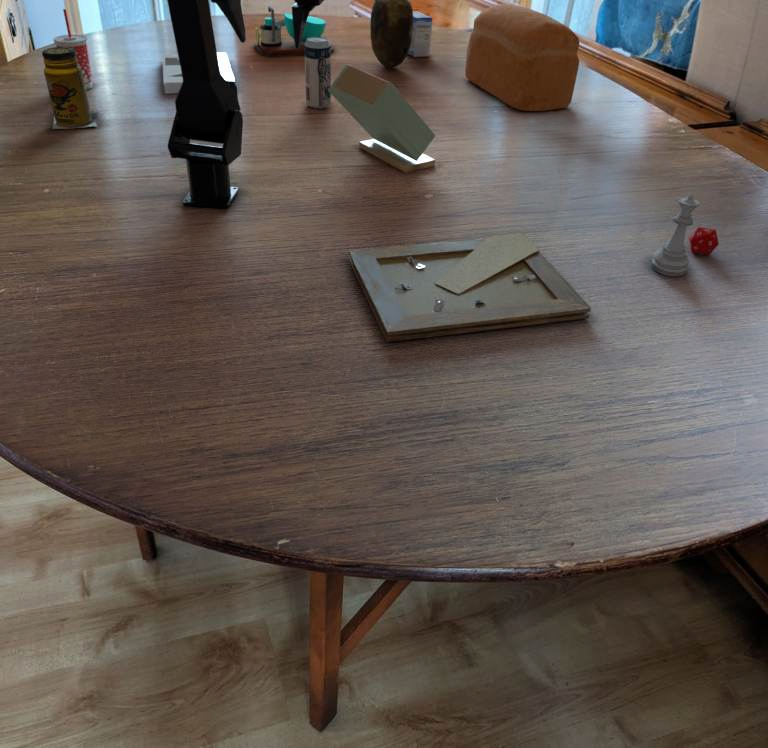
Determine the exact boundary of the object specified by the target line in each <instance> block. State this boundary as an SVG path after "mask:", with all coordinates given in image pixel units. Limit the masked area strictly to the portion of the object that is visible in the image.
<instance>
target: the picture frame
mask: <svg viewBox="0 0 768 748" xmlns="http://www.w3.org/2000/svg"><path fill="white" fill-rule="evenodd" d="M348 262H349V265H350V266H351V268H352V270H353V273H354V275H355V277H356V278H357V281H358V283H359V285H360V287H361V290H362V292H363V294H364V297H365V298H366V301H367V303H368V304H369V307H370V309H371V311H372V313H373V315H374V317H375V320H376V321H377V323H378V325H379V328H380V330H381V332H382V334H383V336H384V338H385V340H386V342H387V343H391V342H400V341H409V340H416V339H424V338H425V339H426V338H434V337H442V336H443V337H444V336H451V335H458V334H459V335H460V334H466V333H474V332H483V331H491V330H501V329H509V328H517V327H524V326H525V327H526V326H533V325H541V324H549V323H550V324H551V323H559V322H567V321H568V322H569V321H577V320H583V319H589V318H590V312H591V311H592V307H591V306H590V305H589V304H588V302H586V301H585V300H584V298H583V297H581V295H580V294H579V293H578V292H577V291H576V290H575V289H574V288H573V287H572V285H571V284H570V283H569V282H568V281H567V280H566V279H565V278H564V277H563V276H562V275H561V273H560V272H559V271H558V270H557V269H556V268H555V267H554V265H552V264H551V262H550V261H548V259H547V258H546V257H545V256H544V255H543V254H542V252H541V251H540V248H539V247H538V246H537V245H536V244H535V242H533V240H532V239H530V237H529V236H528V235H527V234H526V233H525V232H520V233H511V234H510V233H509V234H508V233H507V234H497V235H490V236H489V237H484V238H473V239H460V240H459V239H458V240H448V241H437V242H426V243H416V244H405V245H404V244H403V245H393V246H381V247H369V248H358V249H348Z"/></svg>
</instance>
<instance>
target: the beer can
mask: <svg viewBox="0 0 768 748" xmlns="http://www.w3.org/2000/svg"><path fill="white" fill-rule="evenodd" d="M331 47H332V45H331V42H330V41H329V38H327V37H323V36H321V37H309V38H307V40H306V42H305V55H304V76H305V77H304V78H305V79H304V80H305V104H306V105H307V106H308V107H310V108H312V109H316V110H317V109H318V110H319V109H321V110H322V109H326V108H328V107H329V106H330V105H331V104H332V94H331V93H330V92H329V91H328V89H329V88H330V87H331V86H332V83H331V82H332V80H331V79H332V70H331V68H332V67H331V66H332V65H331V63H332V61H331V59H332V58H331V56H332V55H331V54H332V53H331Z"/></svg>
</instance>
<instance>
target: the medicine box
mask: <svg viewBox="0 0 768 748" xmlns="http://www.w3.org/2000/svg"><path fill="white" fill-rule="evenodd" d="M432 29H433V17H431V16H428V15H426V14H424V13H422V12H420V11H417V10H413V30H412V42H411V46H410V49H409V51H408V53H407V55H410V56H411V57H413V58H422V57H423V58H425V57H429V56H430V55H431V45H432V43H431V42H432V31H433V30H432Z"/></svg>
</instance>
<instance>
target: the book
mask: <svg viewBox="0 0 768 748" xmlns="http://www.w3.org/2000/svg"><path fill="white" fill-rule="evenodd" d="M161 57H162V78H163V79H162V80H163V89H164V94H166V95H167V94H168V95H169V94H178V92H179V90H180V88H181V85H182V83H183V77H182V72H181V67H180V62H179V57H178V52H177V53H176V52H173V53H169V52H168V53H167V52H166V53H162V55H161ZM217 57H218V63H219V69H220V74H221V75H222V77H223V78H224V79H225V80H227V81H234V83H235V84H236V80H235V79H236V78H235V76H234V73H233V70H232V67H231V63H230V60H229V56H228V54H227V52H225V51H224V52H223V51H221V52H218V51H217Z"/></svg>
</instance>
